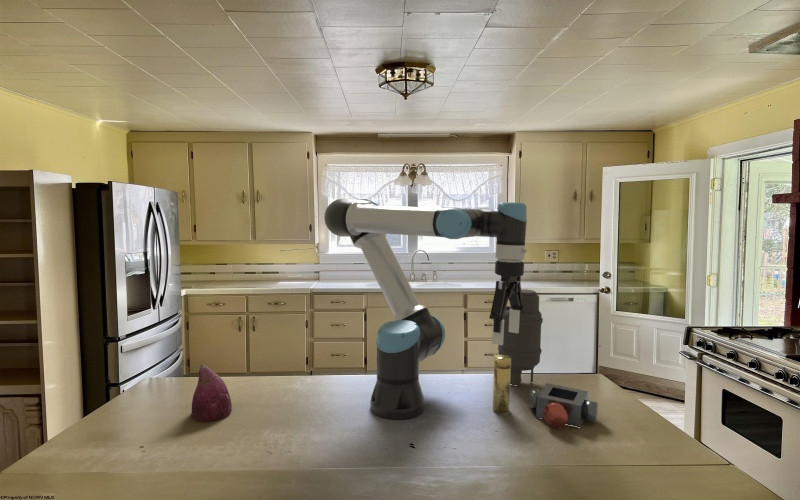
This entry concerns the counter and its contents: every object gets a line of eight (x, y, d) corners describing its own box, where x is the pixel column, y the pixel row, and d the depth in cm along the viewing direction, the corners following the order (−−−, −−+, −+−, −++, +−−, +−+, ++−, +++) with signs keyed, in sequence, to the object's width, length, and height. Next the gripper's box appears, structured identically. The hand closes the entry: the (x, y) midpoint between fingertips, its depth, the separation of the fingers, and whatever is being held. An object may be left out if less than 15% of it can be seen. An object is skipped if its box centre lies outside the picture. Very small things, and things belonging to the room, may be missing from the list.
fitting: (490, 411, 122) (491, 358, 120) (495, 405, 126) (497, 353, 124) (506, 415, 119) (508, 361, 118) (511, 409, 123) (513, 356, 122)
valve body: (520, 420, 116) (521, 396, 116) (535, 400, 129) (536, 379, 128) (590, 438, 108) (591, 412, 107) (599, 415, 120) (600, 391, 120)
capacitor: (533, 394, 134) (536, 296, 131) (490, 384, 141) (493, 291, 139) (545, 380, 145) (548, 289, 143) (505, 371, 152) (508, 285, 150)
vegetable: (185, 429, 117) (167, 376, 115) (215, 408, 126) (198, 359, 124) (214, 427, 112) (195, 372, 111) (242, 406, 122) (225, 355, 120)
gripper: (508, 266, 106) (504, 352, 108) (536, 257, 127) (532, 330, 129) (479, 263, 110) (475, 346, 112) (510, 255, 131) (507, 326, 133)
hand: (505, 338), depth 120 cm, fingers open, 13 cm apart
